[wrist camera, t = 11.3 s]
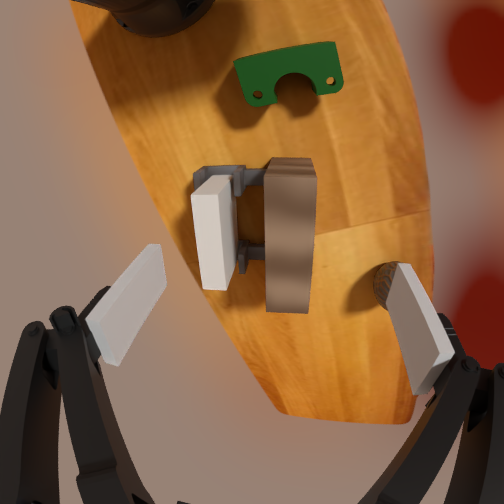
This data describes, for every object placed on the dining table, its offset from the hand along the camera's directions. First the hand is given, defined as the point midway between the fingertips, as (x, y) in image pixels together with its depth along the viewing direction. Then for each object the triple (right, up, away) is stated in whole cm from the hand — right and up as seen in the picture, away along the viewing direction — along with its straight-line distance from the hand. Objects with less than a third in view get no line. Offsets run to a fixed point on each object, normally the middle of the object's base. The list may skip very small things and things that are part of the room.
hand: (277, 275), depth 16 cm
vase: (+20, -2, +27) cm, 33 cm away
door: (-5, +6, +25) cm, 26 cm away
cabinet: (-1, +6, +25) cm, 26 cm away
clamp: (+3, +23, +16) cm, 28 cm away
